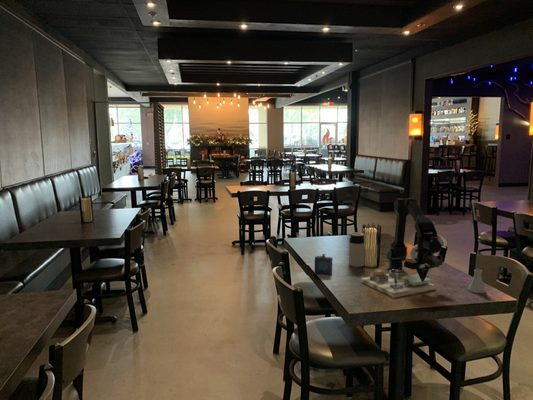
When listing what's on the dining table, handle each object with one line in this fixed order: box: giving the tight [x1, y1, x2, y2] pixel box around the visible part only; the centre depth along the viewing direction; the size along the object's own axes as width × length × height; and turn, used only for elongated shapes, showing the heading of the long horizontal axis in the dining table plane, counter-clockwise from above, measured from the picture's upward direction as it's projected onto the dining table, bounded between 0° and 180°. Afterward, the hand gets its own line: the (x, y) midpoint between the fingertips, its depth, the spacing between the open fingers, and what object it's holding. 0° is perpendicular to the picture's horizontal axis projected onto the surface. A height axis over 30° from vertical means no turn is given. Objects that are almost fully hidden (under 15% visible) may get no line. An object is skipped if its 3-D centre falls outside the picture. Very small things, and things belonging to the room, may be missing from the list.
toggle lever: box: [391, 269, 397, 284], centre depth 194 cm, size 2×2×7 cm
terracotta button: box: [374, 268, 385, 277], centre depth 203 cm, size 4×4×2 cm
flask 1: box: [314, 253, 333, 276], centre depth 218 cm, size 9×3×11 cm, turn 78°
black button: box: [394, 269, 404, 273], centre depth 209 cm, size 4×4×2 cm
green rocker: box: [401, 273, 432, 286], centre depth 198 cm, size 8×11×1 cm
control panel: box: [360, 270, 436, 299], centre depth 201 cm, size 23×25×5 cm
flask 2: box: [467, 269, 487, 294], centre depth 193 cm, size 7×7×10 cm
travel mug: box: [348, 231, 365, 268], centre depth 233 cm, size 8×8×18 cm
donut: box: [409, 244, 417, 262], centre depth 241 cm, size 10×4×10 cm, turn 110°
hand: (422, 281), depth 194 cm, fingers closed, pressing on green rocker
